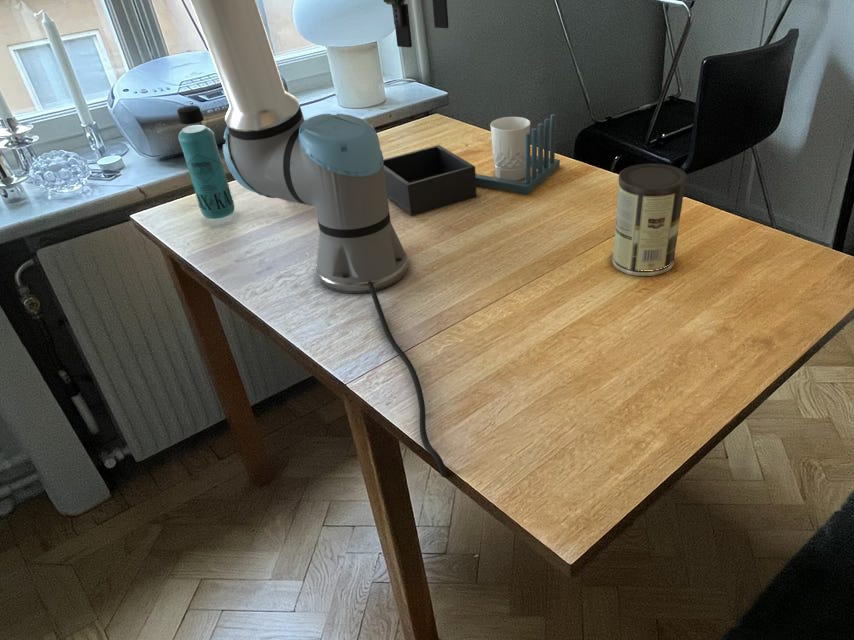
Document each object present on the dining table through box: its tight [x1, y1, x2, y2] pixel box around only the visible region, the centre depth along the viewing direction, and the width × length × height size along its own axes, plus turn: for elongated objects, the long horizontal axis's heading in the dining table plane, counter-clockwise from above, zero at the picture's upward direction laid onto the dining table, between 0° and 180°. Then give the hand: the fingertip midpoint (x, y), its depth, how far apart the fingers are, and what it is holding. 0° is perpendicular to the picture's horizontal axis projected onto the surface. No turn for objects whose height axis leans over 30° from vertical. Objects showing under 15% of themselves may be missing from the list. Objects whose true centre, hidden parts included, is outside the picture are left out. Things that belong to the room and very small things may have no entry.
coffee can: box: [611, 162, 688, 277], centre depth 116 cm, size 10×10×14 cm
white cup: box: [489, 116, 532, 181], centre depth 146 cm, size 8×8×10 cm
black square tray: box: [383, 144, 477, 217], centre depth 143 cm, size 15×15×6 cm
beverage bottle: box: [176, 104, 236, 220], centre depth 134 cm, size 6×7×20 cm
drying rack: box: [475, 113, 561, 196], centre depth 145 cm, size 13×15×11 cm
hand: (423, 37), depth 136 cm, fingers open, 13 cm apart
